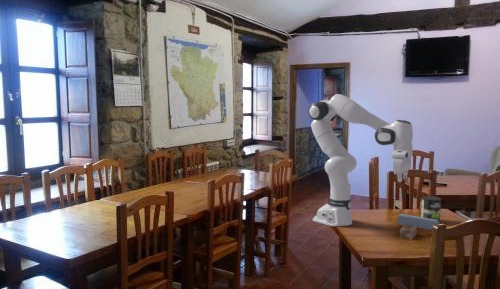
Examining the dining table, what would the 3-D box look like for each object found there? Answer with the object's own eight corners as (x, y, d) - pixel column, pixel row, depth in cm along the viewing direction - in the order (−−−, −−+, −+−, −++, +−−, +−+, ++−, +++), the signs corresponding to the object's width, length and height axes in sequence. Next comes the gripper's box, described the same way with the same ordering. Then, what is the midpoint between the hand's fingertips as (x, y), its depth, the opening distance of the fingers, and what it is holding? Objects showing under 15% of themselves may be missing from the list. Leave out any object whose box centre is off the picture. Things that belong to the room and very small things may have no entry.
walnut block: (399, 237, 205) (399, 229, 204) (404, 232, 213) (405, 224, 212) (411, 240, 201) (412, 231, 201) (416, 234, 209) (417, 226, 209)
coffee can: (444, 223, 227) (445, 199, 226) (427, 224, 225) (429, 200, 224) (432, 218, 237) (433, 195, 236) (416, 219, 235) (418, 196, 234)
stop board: (397, 223, 227) (398, 215, 226) (399, 222, 230) (400, 213, 229) (435, 230, 215) (436, 221, 214) (437, 228, 218) (437, 219, 218)
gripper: (401, 150, 208) (401, 176, 210) (390, 154, 192) (390, 182, 193) (414, 150, 205) (414, 177, 206) (404, 155, 188) (403, 184, 189)
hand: (402, 180), depth 199 cm, fingers open, 8 cm apart
